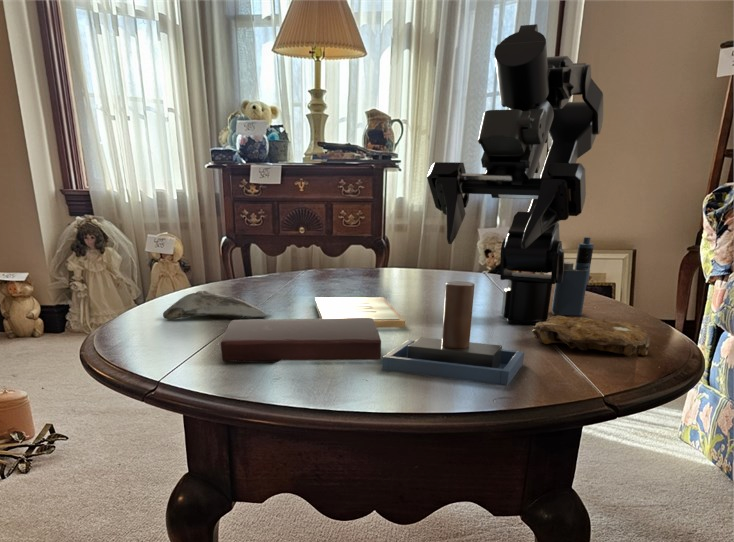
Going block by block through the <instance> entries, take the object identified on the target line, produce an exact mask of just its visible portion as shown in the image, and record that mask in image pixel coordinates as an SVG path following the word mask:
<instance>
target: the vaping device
mask: <svg viewBox="0 0 734 542" xmlns="http://www.w3.org/2000/svg"><path fill="white" fill-rule="evenodd" d="M591 239H592V238H591V237H583V241H582V242H580V243H578V246H577V253H576V259H575V263H574V262H569V261H568V262H567V261H566V262H565V261H564V274H563V281H562V283H555V284H554V290H553V296H552V304H551V311H552V315H553V316H565V317H568V316H569V317H576V316H577V317H578V316H583V315H582V313H583V308H584V302H585V296H586V290H587V285H588V284H589V280H590V273H591V265H592V258H593V252H594V248H595V247H594V246H595V244H594V243H591ZM574 264H575V265H574Z"/></svg>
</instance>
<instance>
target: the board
mask: <svg viewBox="0 0 734 542" xmlns="http://www.w3.org/2000/svg"><path fill="white" fill-rule="evenodd" d="M314 298H315V299H314V304H315V305H314V306H315V309H316V311H317V314H318V317H319V318H372V319H373V320H374V322H375V325H376V328H377V329H379V328H406V320H405V318H403V316H402V315H401V314H399V312H398V311H397V310H396V309H395V308H394V307H393V306H392V305H391V304H390V303H389V301H388V300H387V299H386V298H385V297H383V296H381V297H380V296H378V297H377V296H375V297H371V296H369V297H367V296H366V297H314Z"/></svg>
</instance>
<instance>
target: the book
mask: <svg viewBox="0 0 734 542" xmlns="http://www.w3.org/2000/svg"><path fill="white" fill-rule="evenodd" d="M220 349H221V359H222V361H224V362H243V363H244V362H246V363H247V362H248V363H249V362H252V363H254V362H256V363H261V362H263V363H265V362H266V363H278V362H280V361H349V360H351V361H352V360H353V361H355V360H356V361H357V360H359V361H368V360H369V361H370V360H371V361H373V360H374V361H378V360H381V359H382V340H381V337H380V333H379V330H378V328H376V325H375V322H374V320H373V319H372V318H320V317H319V318H289V319H288V318H271V319H269V318H267V319H266V318H263V319H262V318H261V319H258V318H257V319H255V318H254V319H233V320H231V321H230V322H229V323H228V325H227V328H226V329H225V332H224V334H223V335H222V338H221V341H220Z"/></svg>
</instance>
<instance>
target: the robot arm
mask: <svg viewBox="0 0 734 542" xmlns="http://www.w3.org/2000/svg"><path fill="white" fill-rule="evenodd" d="M538 27H539V26H538V24H535V23H534V24H524V25H520V26H519V28H518V31H516V32H514V33H512V34H510V35H508V36H507V37H505V38H503V40H501V41H500V42H499V44H496V46H495V49H494V52H493V55H494V62H495V68H496V77H497V84H498V91H499V99H500V104H501V107H502V108H508V109H487V110H485V111H484V112H483V115H482V120H481V124H480V129H479V133H478V139H477V142H478V144H479V145H480V146H481V149H482V150H483V153H482V156H481V158H480V162H481V163H480V164H481V168H483V169H485V170H486V171H485V173H467V171H466V167H465V162H461V161H460V162H457V161H456V162H450V161H449V162H448V161H446V162H445V161H443V162H440V161H439V162H437V161H434V163H432V165H431V166H430V169H429V171H428V174H427V176H426V179H427V183H428V186H429V190H430V193H431V196H432V199H433V203H434V205H435V209H437V210H439V211H440V212H442V214H444V215H445V216H446V217H445V218H446V241H447V244H448V245H452V244H453V243H454V241H455V240H456V238H457V236H458V233H459V231H460V228H461V226H462V224H463V222H464V219H465V217H466V208H467V206H468V204H469V201H470V195H491V198H492V199H519V200H531V202H530V205H529V208H528V211H517V212H516V213H515V215H514V216H513V219H512V222H511V225H510V228H509V229H508V231H507V235H506V237H504V238H503V239H502V242H501V246H500V247H501V248H500V260H499V261H500V265H499V266H500V267H499V269H500V270H499V271H500V272H499V273H500V274H499V275H500V278H499V280H500V281H505V280H506V281H508V282H507V287H505V288H504V289H503V295H502V296H503V297H502V303H501V313H500V314H501V315H502V317H503V319H504V320H505V321H506V322H507V324H515V325H516V324H517V325H518V324H522V325H524V324H525V325H536V323H538V322H546V320H547V319H548V318H549V311H550V304H551V303H550V302H551V297H552V291H553V285H555V283H562V281H563V274H564V262H565V251H564V249H563V243H562V240H561V239H560V237H561V236H560V224H559V222H561V221H566V220H568V219H569V217H578V216H579V215H580V214H582V212H583V209H584V206H585V202H586V195H587V192H586V191H587V188H586V187H587V186H586V184H587V183H586V182H587V181H586V167H585V166H584V164H583V163H581V162H578V159H579V158H581V157H582V156H584V155H585V154H586V153H588V152H589V151H590V150H592V148H593V146H594V143H595V140H596V138H597V135H600V134H601V131H602V127H603V120H604V92H603V91H602V90H601V89H600V87H599V86H598V85H597V83H596V82H595V81H594V80H593V78H592V66H591V64H587V63H586V62H573V60H572V58H570V57H569V56H568V55H557V56H548V47H547V38H546V37H545V35H544V34H543V33H541V32H539V31H538V30H539V28H538ZM572 96H581V98H582V101H570V99H571V98H572ZM545 144H547V150H548V152H547V156H546V159H545V161H544V165H543V168H542V171H541V173H540V177H534V176H535V174H539V171H540V168H541V164H540V160H541V156H542V153H543V151H544V148H545ZM549 273H551V274H549Z"/></svg>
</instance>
